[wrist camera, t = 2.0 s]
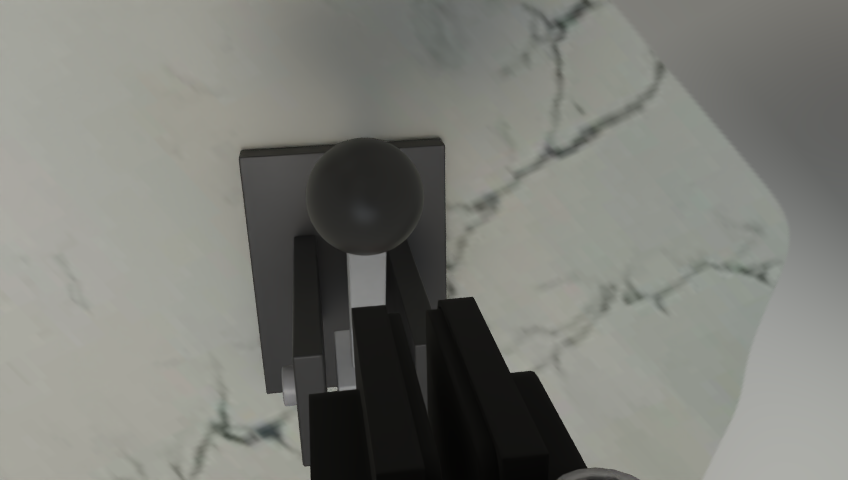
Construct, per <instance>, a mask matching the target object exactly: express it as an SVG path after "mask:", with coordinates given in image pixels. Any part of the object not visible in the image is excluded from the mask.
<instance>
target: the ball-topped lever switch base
mask: <svg viewBox="0 0 848 480" xmlns="http://www.w3.org/2000/svg"><path fill="white" fill-rule="evenodd" d="M388 143H390V144H392V145H394V146H395V147H397V148H398V149H400V150H401V151H402V152H404V153H405V154H406V155H407V156H408V157H409V159H410V160H411V161H412V162H413V164H414V165H415V167H416V169H417V170H418V172H419V175H420V177H421V181H422V185H423V191H424V204H423V210H422V214H421V217H420V219H419V221H418V224H417V225H416V227H415V229H414V230H413V232H412V233H411V234H410V236H409V237H408V238H407V239H406V240H405V241H403V242H402V243H401V244H400V245H398V246H397V247H395V248H394V249H392V250H390V251H387V252H386V308H387V312H388V313H400V315H401V318H402V322H403V326H404V329H405V333H406V337H407V340H408V344H409V348H410V351H411V355H412V359H413V362H414V366H415V370H416V373H417V377H418V381H419V384H420V388H421V392H422V395H423V399H424V403H425V406H426V410H427V414H428V406H427V362H426V310H432V309H437V305H438V300H444V299H446V214H445V145H444V144H443V142H442V141H441V139H425V140H408V141H392V142H388ZM334 146H336V145H326V146H309V147H293V148H276V149H260V150H243V151H241V152H240V156H239V165H240V173H241V181H242V190H243V198H244V207H245V215H246V223H247V232H248V240H249V249H250V257H251V266H252V274H253V282H254V291H255V299H256V308H257V316H258V324H259V333H260V341H261V350H262V358H263V367H264V375H265V383H266V392H267V394H270V393H280V392H283V399H284V404H285V406H292V405H297V411H298V421H299V430H300V440H301V450H302V460H303V465H304V466H310V430H309V394H315V393H324V392H327V388H328V387H337V376H336V362H335V347H334V332H335V331H342V330H350V321H349V298H348V275H347V253H346V252H343V251H341V250H339V249H336V248H335V247H333V246H332V245H330V244H329V243H328V242H326V241H325V240H324V239H323V238H322V237H321V235H320V234H319V233H318V232H317V231H316V229H315V227H314V226H313V224H312V222H311V220H310V217H309V214H308V211H307V205H306V188H307V183H308V179H309V176H310V173H311V171H312V169H313V167H314V166H315V164H316V163H317V162H318V160H319V159H320V158H321V156H322V155H324V154H325V153H326V152H327V151H328V150H330V149H331V148H332V147H334Z"/></svg>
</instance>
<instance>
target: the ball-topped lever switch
mask: <svg viewBox="0 0 848 480" xmlns="http://www.w3.org/2000/svg"><path fill="white" fill-rule="evenodd" d="M423 204H424V191H423V185H422V181H421V177H420V175H419V172H418V170H417V169H416V167H415V165H414V164H413V162H412V161H411V160H410V159H409V157H408V156H407V155H406V154H405V153H404V152H402V151H401V150H400V149H398V148H397V147H395V146H394V145H392V144H390V143H388V142H385V141H382V140H379V139H374V138H356V139H351V140H347V141H344V142H342V143H339V144H337V145H336V146H334V147H332V148H331V149H330V150H328V151H327V152H326V153H325V154H324V155H322V156H321V158H320V159H319V160H318V162H317V163H316V164H315V166H314V167H313V169H312V171H311V173H310V176H309V179H308V183H307V188H306V205H307V211H308V214H309V217H310V220H311V222H312V224H313V226H314V227H315V229H316V231H317V232H318V233H319V234H320V235H321V237H322V238H323V239H324V240H325V241H326V242H328V243H329V244H330V245H332V246H333V247H335V248H336V249H339V250H341V251H343V252H346V253H347V275H348V298H349V321H350V330H342V331H335V332H334V347H335V362H336V376H337V387H338V391H343V390H353V389H356V378H355V363H354V347H353V332H352V316H351V308H355V307H366V306H377V305H386V252H387V251H390V250H392V249H394V248H395V247H397V246H398V245H400V244H401V243H402V242H403V241H405V240H406V239H407V238H408V237H409V236H410V234H411V233H412V232H413V230H414V229H415V227H416V225H417V224H418V221H419V219H420V217H421V214H422V210H423Z"/></svg>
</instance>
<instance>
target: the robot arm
mask: <svg viewBox="0 0 848 480" xmlns="http://www.w3.org/2000/svg"><path fill="white" fill-rule="evenodd" d="M351 316H352V332H353V347H354V363H355V378H356V389H353V390H343V391H334V392H324V393H315V394H309V430H310V470H311V480H639V479H637V478H636V477H634V476H632V475H629V474H626V473H623V472H620V471H616V470H613V469H604V468H587V466H586V464H585V463H584V461H583V459H582V457H581V455H580V453H579V452H578V450H577V448H576V446H575V444H574V442H573V441H572V439H571V437H570V435H569V433H568V431H567V430H566V428H565V426H564V424H563V422H562V420H561V419H560V417H559V415H558V413H557V411H556V409H555V407H554V406H553V404H552V402H551V400H550V398H549V396H548V395H547V393H546V391H545V389H544V387H543V385H542V384H541V382H540V380H539V378H538V376H537V375H536V374H535V372H533V371H525V372H515V373H510V371H509V369H508V367H507V365H506V363H505V361H504V359H503V357H502V355H501V353H500V351H499V349H498V347H497V345H496V343H495V341H494V338H493V336H492V334H491V332H490V330H489V328H488V326H487V324H486V322H485V320H484V318H483V316H482V314H481V312H480V310H479V308H478V306H477V303H476V301H475V299H474V298H473V297H466V298H455V299H444V300H438V305H437V309H432V310H426V362H427V406H428V414H427V410H426V406H425V403H424V399H423V395H422V392H421V388H420V384H419V381H418V377H417V373H416V370H415V366H414V362H413V359H412V355H411V351H410V348H409V344H408V340H407V337H406V333H405V329H404V326H403V322H402V318H401V315H400V313H388V312H387V308H386V305H377V306H366V307H355V308H351Z"/></svg>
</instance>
